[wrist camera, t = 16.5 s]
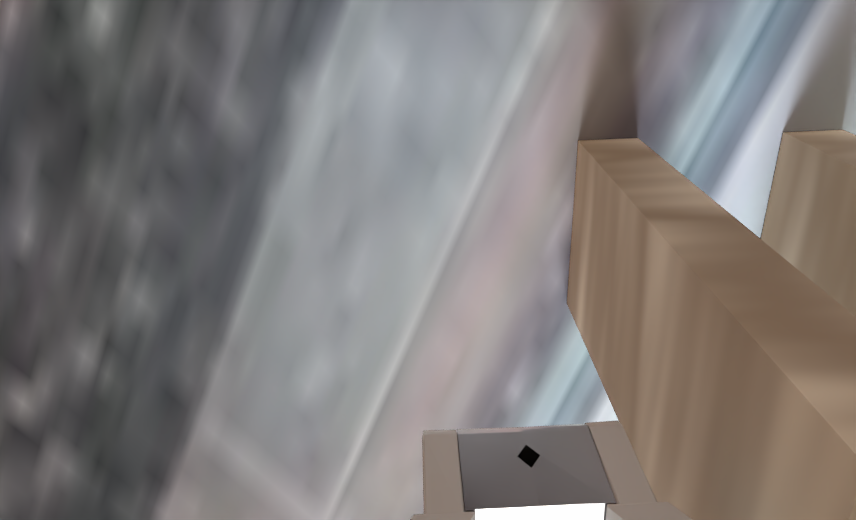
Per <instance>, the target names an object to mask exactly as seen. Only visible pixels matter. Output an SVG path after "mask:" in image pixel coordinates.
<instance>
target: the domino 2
mask: <svg viewBox="0 0 856 520" xmlns="http://www.w3.org/2000/svg"><path fill="white" fill-rule="evenodd" d="M761 240H762V241H764V242H765V243H766V244H767V245H769V246H770V247H771V248H772V249H773V250H775V251H776V252H777V253H778V254H780V255H781V256H782V257H783V258H784V259H786V260H787V261H788V262H789V263H790V264H792V265H793V266H794V267H795V268H797V269H798V270H799V271H800V272H801V273H803V274H804V275H805V276H806V277H808V278H809V279H810V280H811V281H812V282H814V283H815V284H816V285H817V286H818V287H820V288H821V289H822V290H823V291H825V292H826V293H827V294H828V295H829V296H831V297H832V298H833V299H834V300H836V301H837V302H838V303H839V304H840V305H842V306H843V307H844V308H845V309H846V310H848V311H849V312H850V313H851V314H853V315H854V316H855V317H856V135H854V134H852V133H849V132H847V131H844V130H824V131H799V132H783V135H782V140H781V144H780V149H779V154H778V159H777V163H776V168H775V173H774V178H773V182H772V187H771V192H770V197H769V201H768V206H767V211H766V216H765V220H764V225H763V230H762V235H761Z"/></svg>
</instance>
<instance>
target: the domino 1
mask: <svg viewBox="0 0 856 520" xmlns="http://www.w3.org/2000/svg"><path fill="white" fill-rule="evenodd" d="M567 305H568V307H569V309H570V311H571V314H572V316H573V318H574V320H575V323H576V325H577V327H578V329H579V332H580V334H581V336H582V338H583V341H584V343H585V345H586V348H587V350H588V352H589V354H590V357H591V359H592V361H593V363H594V366H595V368H596V370H597V372H598V375H599V377H600V379H601V381H602V384H603V386H604V388H605V390H606V393H607V395H608V397H609V400H610V402H611V404H612V406H613V409H614V411H615V413H616V415H617V418H618V420H619V422H620V423H621V424H622V425H623V427H624V429H625V432H626V434H627V436H628V438H629V440H630V443H631V445H632V447H633V449H634V451H635V454H636V456H637V458H638V460H639V462H640V465H641V467H642V469H643V471H644V473H645V476H646V478H647V480H648V482H649V484H650V487H651V489H652V491H653V493H654V495H655V497H656V500H657V502H669V503H670V504H672V505H673V506H674V507H676V508H677V509H679V510H680V511H681V512H683V513H684V514H686V515H687V516H688V517H690V518H691V519H693V520H856V317H855V316H854V315H853V314H851V313H850V312H849V311H848V310H846V309H845V308H844V307H843V306H842V305H840V304H839V303H838V302H837V301H836V300H834V299H833V298H832V297H831V296H829V295H828V294H827V293H826V292H825V291H823V290H822V289H821V288H820V287H818V286H817V285H816V284H815V283H814V282H812V281H811V280H810V279H809V278H808V277H806V276H805V275H804V274H803V273H801V272H800V271H799V270H798V269H797V268H795V267H794V266H793V265H792V264H790V263H789V262H788V261H787V260H786V259H784V258H783V257H782V256H781V255H780V254H778V253H777V252H776V251H775V250H773V249H772V248H771V247H770V246H769V245H767V244H766V243H765V242H764V241H762V240H761V239H760V238H759V237H758V236H756V235H755V234H754V233H753V232H752V231H750V230H749V229H748V228H747V227H745V226H744V225H743V224H742V223H741V222H739V221H738V220H737V219H736V218H734V217H733V216H732V215H731V214H730V213H728V212H727V211H726V210H725V209H724V208H722V207H721V206H720V205H719V204H717V203H716V202H715V201H714V200H713V199H711V198H710V197H709V196H708V195H706V194H705V193H704V192H703V191H702V190H700V189H699V188H698V187H697V186H696V185H694V184H693V183H692V182H691V181H689V180H688V179H687V178H686V177H685V176H683V175H682V174H681V173H680V172H678V171H677V170H676V169H675V168H674V167H672V166H671V165H670V164H669V163H668V162H666V161H665V160H664V159H663V158H661V157H660V156H659V155H658V154H657V153H655V152H654V151H653V150H652V149H650V148H649V147H648V146H647V145H646V144H644V143H643V142H642V141H641V140H640V139H638V138H627V139H602V140H578V149H577V164H576V178H575V193H574V207H573V222H572V236H571V251H570V265H569V280H568V295H567Z"/></svg>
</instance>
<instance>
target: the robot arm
mask: <svg viewBox="0 0 856 520" xmlns="http://www.w3.org/2000/svg"><path fill="white" fill-rule="evenodd" d="M422 449H423V495H424V514H416V515H413V516H412V518H411V519H410V520H693V519H691V518H690V517H688V516H687V515H686V514H684V513H683V512H681V511H680V510H679V509H677V508H676V507H674V506H673V505H672V504H670V503H669V502H657V500H656V497H655V495H654V493H653V491H652V489H651V487H650V484H649V482H648V480H647V478H646V476H645V473H644V471H643V469H642V467H641V465H640V462H639V460H638V458H637V456H636V454H635V451H634V449H633V447H632V445H631V443H630V440H629V438H628V436H627V434H626V432H625V429H624V427H623V425H622V424H621V423H620V422H618V421H606V422H591V423H585V424H569V425H552V426H534V427H512V428H475V429H457V433H456V430H424V431H423V436H422Z"/></svg>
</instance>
